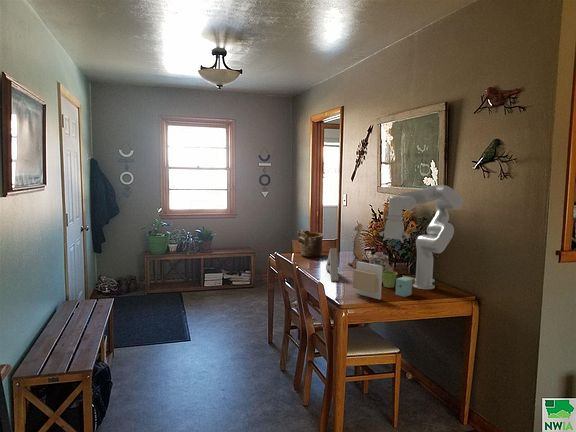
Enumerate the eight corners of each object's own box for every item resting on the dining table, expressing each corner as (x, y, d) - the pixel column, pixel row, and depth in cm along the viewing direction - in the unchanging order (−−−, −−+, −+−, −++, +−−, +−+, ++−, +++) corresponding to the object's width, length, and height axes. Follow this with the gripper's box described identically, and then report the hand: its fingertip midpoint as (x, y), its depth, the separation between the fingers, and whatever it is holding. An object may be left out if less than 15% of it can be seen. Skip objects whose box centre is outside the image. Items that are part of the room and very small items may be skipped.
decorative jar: (388, 279, 282) (389, 251, 281) (387, 283, 271) (388, 254, 269) (369, 277, 285) (370, 250, 284) (367, 281, 274) (368, 253, 273)
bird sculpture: (346, 265, 323) (347, 222, 319) (361, 264, 326) (362, 222, 322) (353, 269, 312) (353, 224, 309) (368, 268, 315) (369, 224, 312)
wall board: (356, 292, 248) (358, 261, 246) (380, 299, 237) (382, 266, 235) (351, 294, 244) (352, 262, 242) (375, 300, 233) (376, 267, 231)
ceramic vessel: (337, 247, 349) (319, 223, 342) (314, 267, 345) (296, 243, 339) (327, 242, 370) (310, 219, 364) (305, 261, 367) (287, 238, 360)
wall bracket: (333, 296, 297) (338, 280, 271) (326, 296, 297) (331, 280, 271) (332, 266, 308) (337, 248, 282) (325, 266, 308) (330, 247, 282)
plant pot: (378, 284, 268) (379, 270, 267) (394, 284, 268) (394, 270, 268) (383, 288, 258) (383, 274, 258) (398, 288, 259) (399, 274, 258)
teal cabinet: (405, 291, 254) (405, 276, 253) (414, 293, 250) (415, 278, 249) (394, 294, 246) (395, 279, 245) (404, 297, 242) (405, 281, 241)
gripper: (377, 217, 247) (376, 247, 249) (408, 220, 238) (406, 251, 239) (382, 216, 253) (381, 246, 255) (412, 219, 244) (410, 249, 246)
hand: (393, 248), depth 247 cm, fingers open, 9 cm apart
